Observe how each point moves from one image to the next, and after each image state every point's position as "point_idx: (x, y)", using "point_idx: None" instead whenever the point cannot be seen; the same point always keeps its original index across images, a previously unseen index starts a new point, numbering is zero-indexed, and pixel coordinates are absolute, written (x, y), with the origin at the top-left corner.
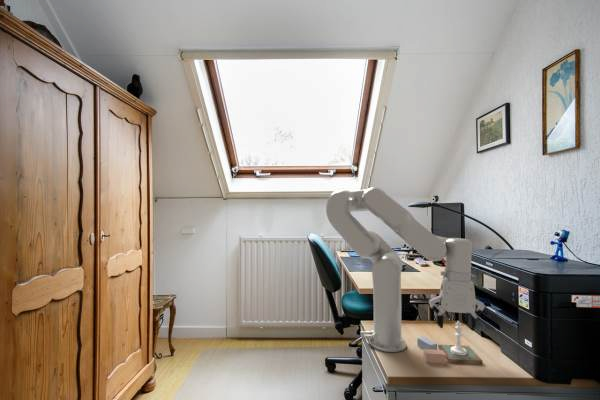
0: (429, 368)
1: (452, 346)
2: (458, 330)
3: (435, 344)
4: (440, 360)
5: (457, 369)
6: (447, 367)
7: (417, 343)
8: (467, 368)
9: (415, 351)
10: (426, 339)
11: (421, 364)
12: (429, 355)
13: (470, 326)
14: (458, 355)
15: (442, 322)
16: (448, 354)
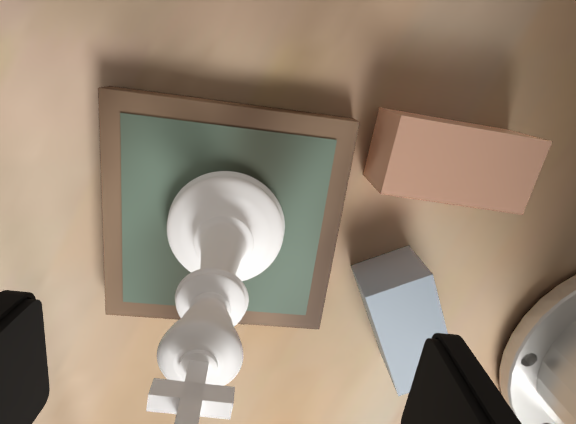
0: (537, 38)
1: None
2: (218, 313)
3: (380, 289)
4: (422, 116)
5: (341, 15)
6: (399, 49)
7: None
8: (257, 28)
9: (488, 271)
10: (407, 356)
11: (556, 98)
12: (515, 134)
13: (20, 356)
14: (257, 170)
15: (479, 387)
16: (326, 186)
